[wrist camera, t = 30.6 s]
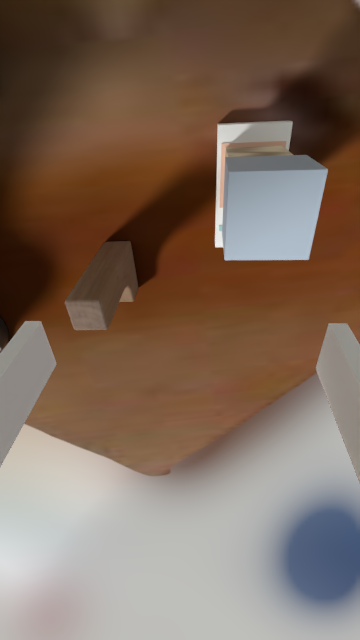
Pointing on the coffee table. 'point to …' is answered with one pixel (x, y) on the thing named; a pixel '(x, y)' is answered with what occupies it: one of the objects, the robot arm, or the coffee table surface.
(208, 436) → the coffee table surface
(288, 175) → the slate block
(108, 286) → the wooden block
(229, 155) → the beige box
